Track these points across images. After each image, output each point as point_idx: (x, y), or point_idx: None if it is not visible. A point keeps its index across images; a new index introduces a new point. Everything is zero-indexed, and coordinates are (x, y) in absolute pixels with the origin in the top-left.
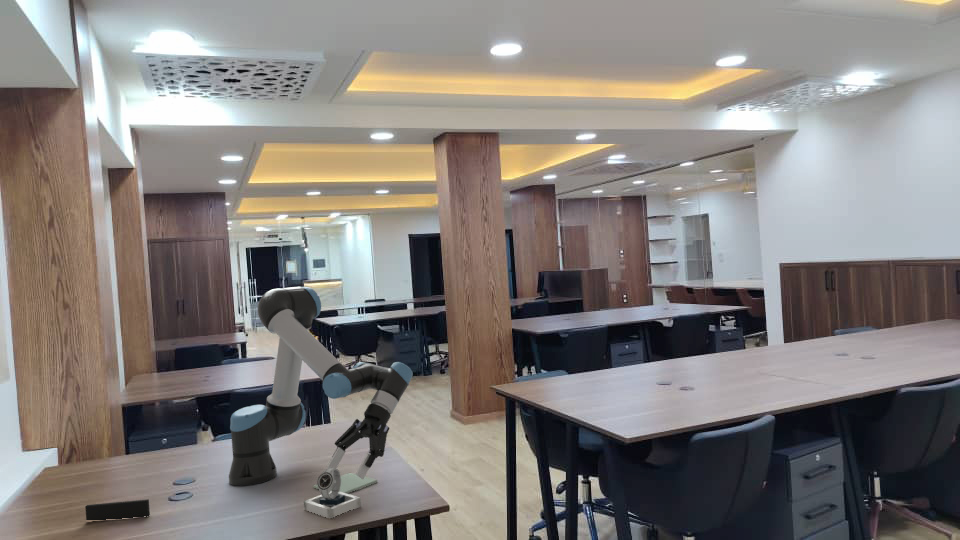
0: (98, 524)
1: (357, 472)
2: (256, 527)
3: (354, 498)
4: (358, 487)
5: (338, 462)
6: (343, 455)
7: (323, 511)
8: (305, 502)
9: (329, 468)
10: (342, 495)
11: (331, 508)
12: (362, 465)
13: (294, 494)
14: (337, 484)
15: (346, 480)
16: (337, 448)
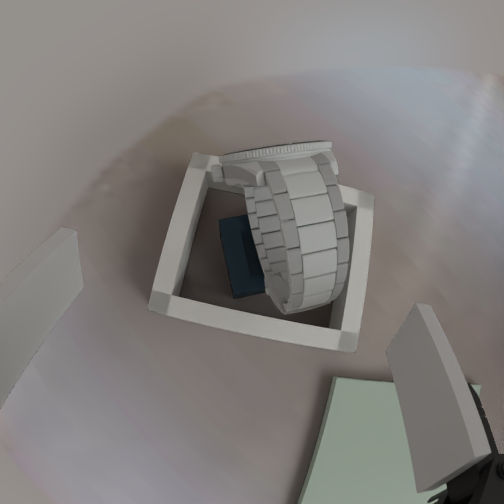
0: None
1: (59, 235)
2: (371, 84)
3: (168, 292)
4: (312, 467)
5: (405, 401)
6: (413, 464)
7: None
8: (362, 192)
9: (342, 219)
10: (238, 283)
11: (195, 164)
12: (16, 268)
13: (489, 313)
14: (286, 288)
15: (407, 484)
16: (493, 454)
